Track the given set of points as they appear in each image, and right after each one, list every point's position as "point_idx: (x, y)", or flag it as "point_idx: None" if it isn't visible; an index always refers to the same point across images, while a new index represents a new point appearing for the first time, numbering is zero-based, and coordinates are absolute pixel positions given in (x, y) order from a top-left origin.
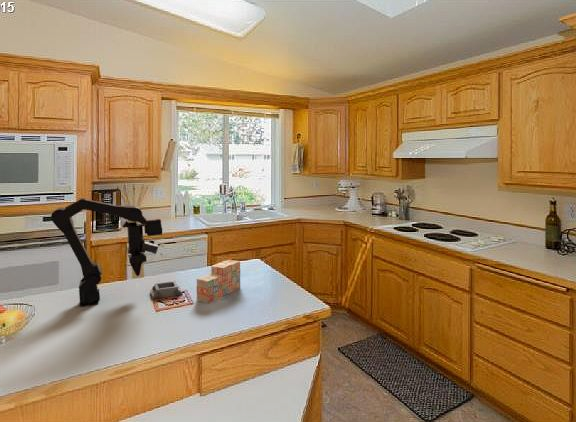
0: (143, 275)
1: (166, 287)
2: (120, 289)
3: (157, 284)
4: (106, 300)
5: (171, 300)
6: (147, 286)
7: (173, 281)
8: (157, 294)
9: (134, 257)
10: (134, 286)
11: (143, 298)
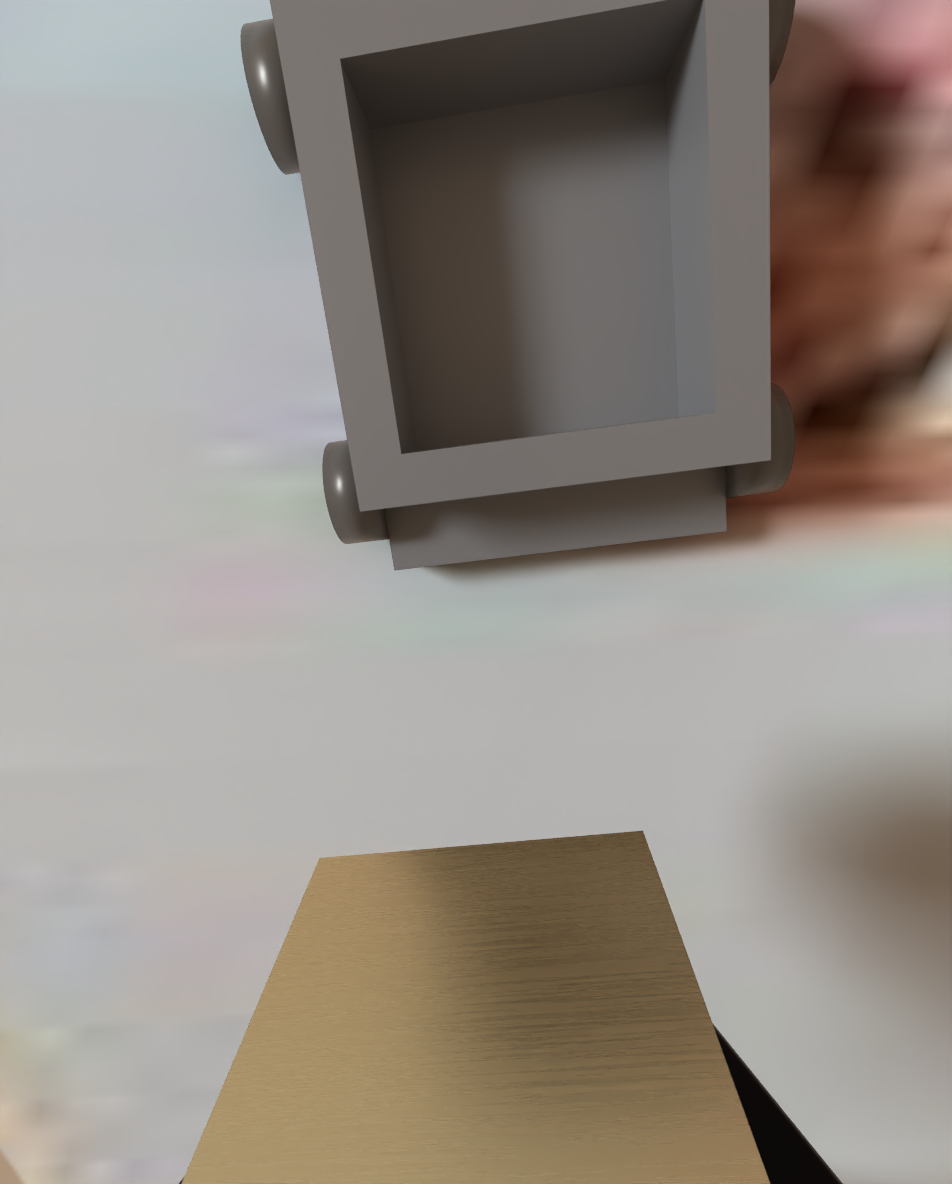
0: (660, 887)
1: (389, 274)
2: (188, 939)
3: (400, 449)
4: None
5: (918, 196)
6: (120, 614)
7: (304, 45)
8: (781, 443)
9: None
10: (94, 788)
11: (636, 652)
